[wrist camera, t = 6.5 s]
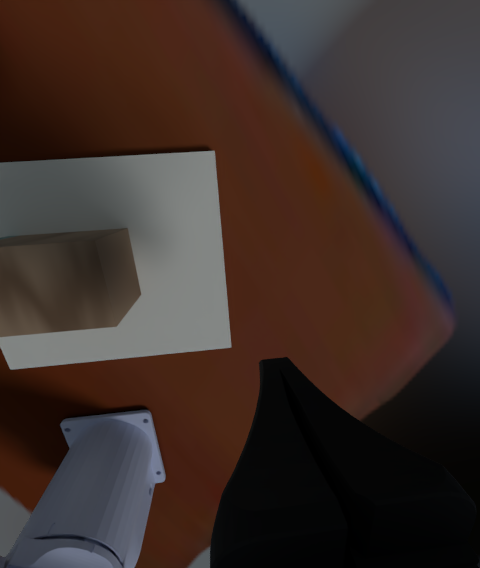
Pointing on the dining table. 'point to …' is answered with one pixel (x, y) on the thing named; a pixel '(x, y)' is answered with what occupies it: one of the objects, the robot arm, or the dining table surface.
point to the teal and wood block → (66, 281)
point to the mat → (145, 245)
